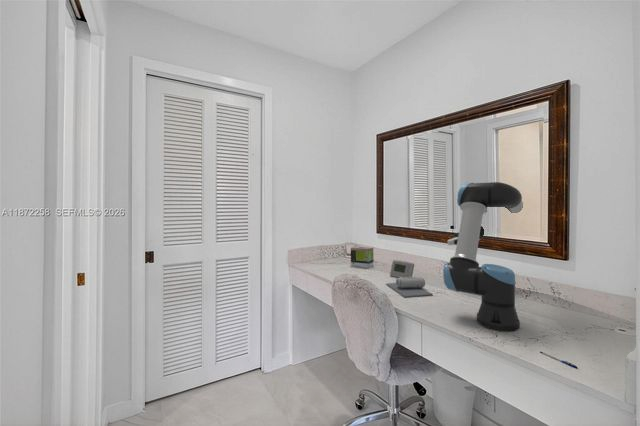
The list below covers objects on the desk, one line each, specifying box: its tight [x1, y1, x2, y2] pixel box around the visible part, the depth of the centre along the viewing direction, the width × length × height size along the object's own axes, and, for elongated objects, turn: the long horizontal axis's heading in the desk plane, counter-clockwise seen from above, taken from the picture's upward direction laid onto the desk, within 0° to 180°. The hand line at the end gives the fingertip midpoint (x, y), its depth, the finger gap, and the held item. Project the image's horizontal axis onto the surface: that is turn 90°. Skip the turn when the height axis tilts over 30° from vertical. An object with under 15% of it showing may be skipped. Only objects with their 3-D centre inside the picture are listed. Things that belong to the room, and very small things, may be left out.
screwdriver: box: [539, 351, 578, 370], centre depth 94 cm, size 10×1×1 cm, turn 24°
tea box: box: [350, 245, 375, 269], centre depth 229 cm, size 15×10×15 cm, turn 58°
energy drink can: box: [395, 276, 426, 289], centre depth 170 cm, size 6×6×15 cm
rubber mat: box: [385, 282, 434, 299], centre depth 169 cm, size 24×16×1 cm, turn 10°
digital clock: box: [389, 259, 415, 279], centre depth 195 cm, size 16×9×11 cm, turn 29°
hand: (448, 242), depth 168 cm, fingers closed
